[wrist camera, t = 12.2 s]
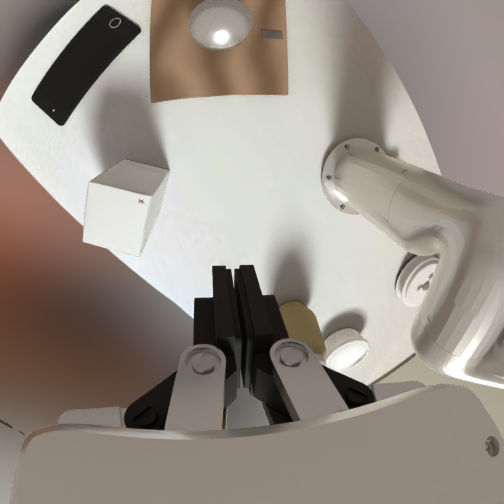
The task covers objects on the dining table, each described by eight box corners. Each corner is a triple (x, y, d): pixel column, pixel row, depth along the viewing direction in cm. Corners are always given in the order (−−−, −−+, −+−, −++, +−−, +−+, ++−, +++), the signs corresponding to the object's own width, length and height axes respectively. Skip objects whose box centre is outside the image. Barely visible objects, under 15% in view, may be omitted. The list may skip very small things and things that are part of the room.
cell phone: (143, 31, 25) (141, 29, 24) (63, 126, 29) (60, 127, 29) (106, 6, 21) (104, 4, 20) (33, 98, 26) (29, 98, 25)
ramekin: (346, 357, 63) (354, 372, 58) (309, 356, 60) (316, 373, 55) (368, 325, 58) (378, 340, 53) (330, 322, 55) (340, 339, 50)
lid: (437, 243, 50) (451, 254, 46) (430, 286, 56) (442, 298, 52) (395, 260, 50) (408, 273, 46) (391, 305, 56) (402, 318, 52)
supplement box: (123, 157, 33) (88, 178, 23) (171, 170, 36) (154, 195, 25) (113, 205, 36) (80, 242, 25) (158, 217, 39) (140, 259, 28)
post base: (281, -10, 24) (289, -20, 21) (285, 95, 33) (293, 93, 29) (154, -6, 22) (149, -16, 18) (153, 102, 31) (147, 101, 27)
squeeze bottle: (260, 316, 51) (282, 396, 35) (291, 288, 49) (325, 365, 33) (289, 332, 54) (315, 405, 38) (317, 307, 52) (354, 378, 36)
